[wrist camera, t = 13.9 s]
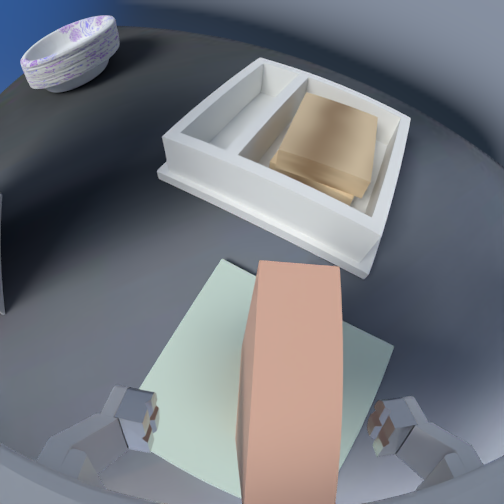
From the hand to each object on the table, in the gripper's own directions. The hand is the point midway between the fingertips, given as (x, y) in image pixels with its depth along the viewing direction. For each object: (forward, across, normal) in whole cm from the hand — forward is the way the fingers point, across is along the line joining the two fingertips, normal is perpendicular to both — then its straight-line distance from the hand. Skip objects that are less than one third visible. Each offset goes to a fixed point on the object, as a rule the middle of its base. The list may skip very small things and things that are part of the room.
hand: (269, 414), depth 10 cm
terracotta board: (+6, 0, +5) cm, 8 cm away
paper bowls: (+34, +29, -21) cm, 49 cm away
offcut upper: (+18, -5, -10) cm, 22 cm away
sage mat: (+7, -1, +6) cm, 9 cm away
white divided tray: (+21, -3, -9) cm, 23 cm away
